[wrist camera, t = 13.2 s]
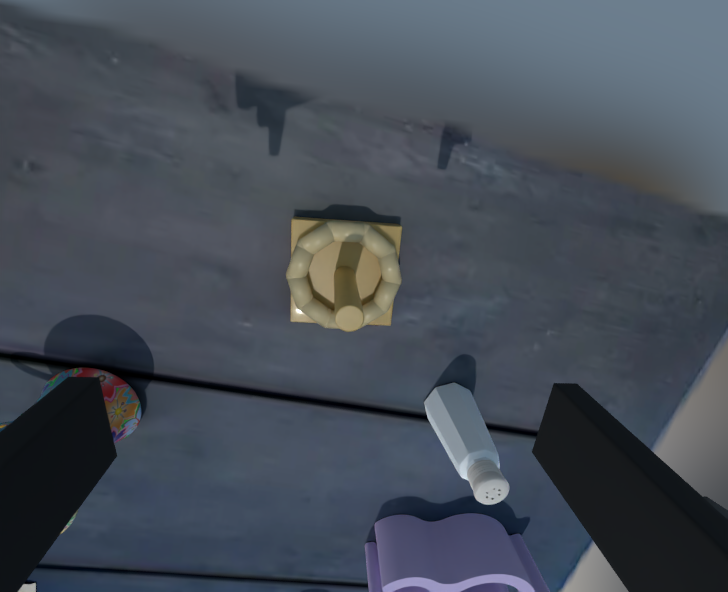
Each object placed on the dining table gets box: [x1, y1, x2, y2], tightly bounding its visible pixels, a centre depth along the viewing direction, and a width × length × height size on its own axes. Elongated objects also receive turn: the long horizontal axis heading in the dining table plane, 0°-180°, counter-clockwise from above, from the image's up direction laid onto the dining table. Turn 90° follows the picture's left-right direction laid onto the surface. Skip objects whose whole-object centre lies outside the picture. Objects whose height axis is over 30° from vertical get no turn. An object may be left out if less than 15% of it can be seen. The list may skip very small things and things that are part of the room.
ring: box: [286, 220, 402, 329], centre depth 29 cm, size 9×10×2 cm
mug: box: [0, 368, 141, 534], centre depth 28 cm, size 12×9×11 cm
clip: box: [365, 513, 550, 592], centre depth 41 cm, size 20×12×7 cm, turn 72°
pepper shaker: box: [424, 383, 509, 505], centre depth 32 cm, size 5×5×11 cm
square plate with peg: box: [291, 217, 402, 332], centre depth 26 cm, size 9×9×10 cm
